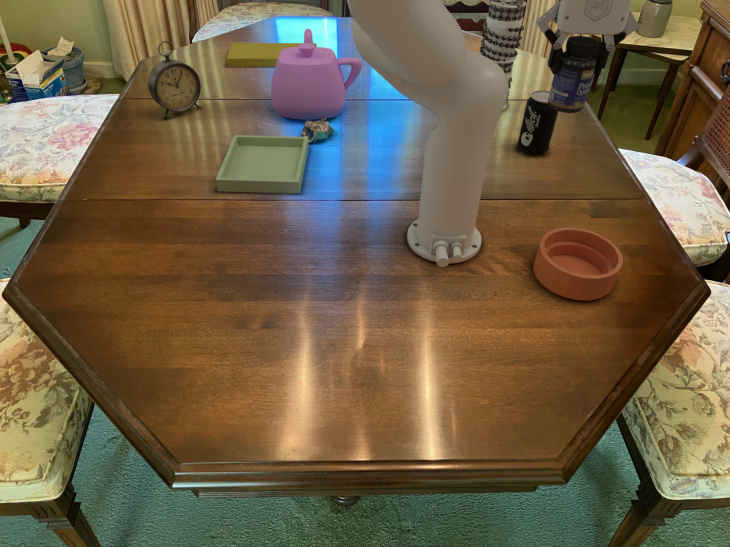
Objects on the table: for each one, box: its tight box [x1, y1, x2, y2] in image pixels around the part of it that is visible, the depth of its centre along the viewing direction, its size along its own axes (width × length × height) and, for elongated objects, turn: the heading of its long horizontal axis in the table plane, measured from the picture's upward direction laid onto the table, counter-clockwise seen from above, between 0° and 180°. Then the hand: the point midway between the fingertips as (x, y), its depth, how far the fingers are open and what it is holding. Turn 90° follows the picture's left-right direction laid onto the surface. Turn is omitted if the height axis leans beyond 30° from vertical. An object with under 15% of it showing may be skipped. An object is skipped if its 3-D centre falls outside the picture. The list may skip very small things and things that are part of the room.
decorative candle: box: [479, 0, 528, 111], centre depth 127 cm, size 9×9×25 cm
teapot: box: [270, 28, 363, 120], centre depth 129 cm, size 23×21×15 cm
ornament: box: [300, 118, 335, 144], centre depth 120 cm, size 8×7×4 cm
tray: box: [215, 134, 310, 195], centre depth 110 cm, size 18×16×3 cm
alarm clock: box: [147, 40, 202, 120], centre depth 124 cm, size 11×5×16 cm, turn 131°
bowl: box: [532, 226, 624, 302], centre depth 87 cm, size 12×12×5 cm
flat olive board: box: [226, 42, 318, 68], centre depth 154 cm, size 12×2×24 cm
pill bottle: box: [548, 35, 599, 114], centre depth 91 cm, size 6×6×11 cm
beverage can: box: [517, 89, 560, 156], centre depth 115 cm, size 7×7×12 cm
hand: (574, 70), depth 91 cm, fingers closed on pill bottle, 6 cm apart
